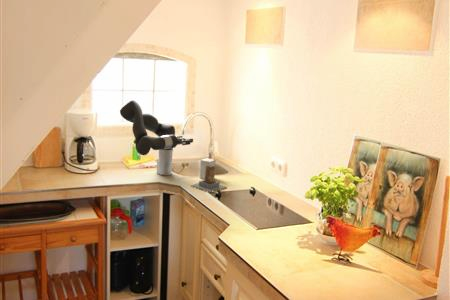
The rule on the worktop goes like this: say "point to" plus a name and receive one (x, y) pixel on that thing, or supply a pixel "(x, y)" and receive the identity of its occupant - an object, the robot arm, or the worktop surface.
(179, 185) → the worktop surface
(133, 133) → the robot arm
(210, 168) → the walnut post
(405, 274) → the worktop surface
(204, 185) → the well board
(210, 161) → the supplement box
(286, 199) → the worktop surface
